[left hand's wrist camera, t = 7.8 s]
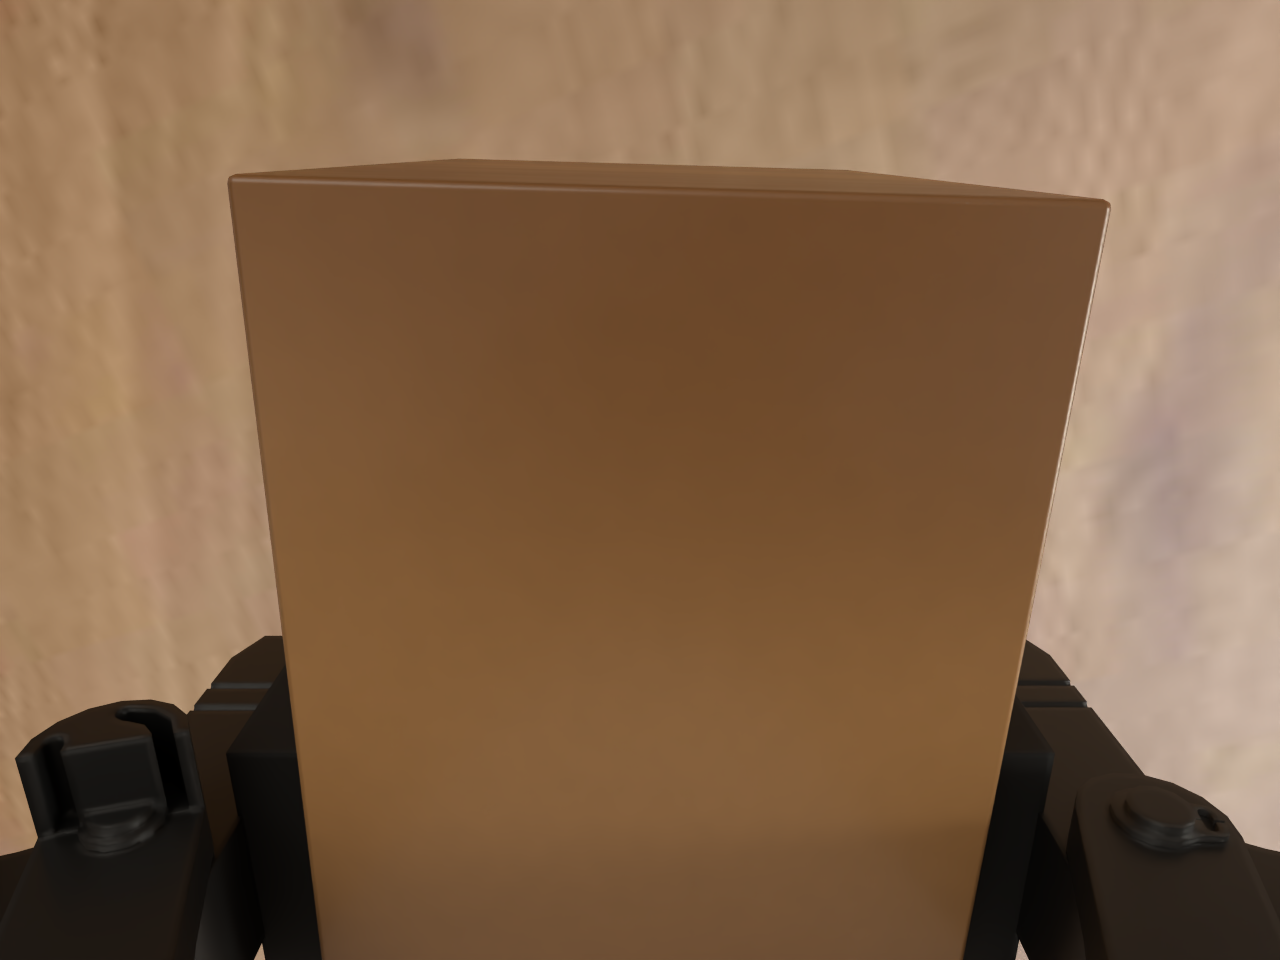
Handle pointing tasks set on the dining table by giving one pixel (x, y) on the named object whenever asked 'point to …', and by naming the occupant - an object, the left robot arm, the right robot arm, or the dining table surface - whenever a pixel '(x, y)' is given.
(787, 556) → the bar
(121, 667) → the dining table surface
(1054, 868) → the left robot arm
